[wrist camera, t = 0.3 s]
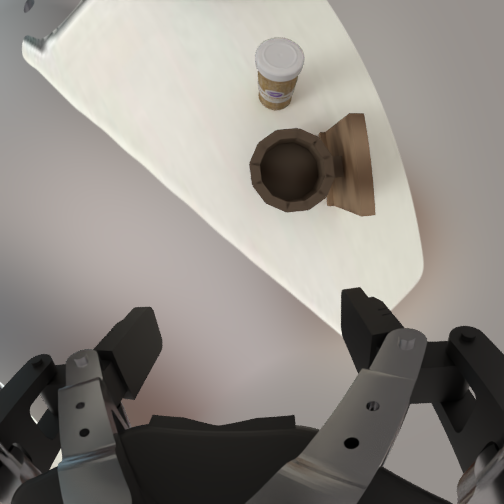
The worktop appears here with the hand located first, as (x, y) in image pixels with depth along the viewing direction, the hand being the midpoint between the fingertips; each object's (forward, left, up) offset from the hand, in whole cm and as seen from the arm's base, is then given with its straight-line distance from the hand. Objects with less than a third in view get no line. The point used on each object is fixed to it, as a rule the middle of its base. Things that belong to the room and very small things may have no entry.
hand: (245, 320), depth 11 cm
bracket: (-6, +6, -27) cm, 29 cm away
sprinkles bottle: (-17, +4, -28) cm, 33 cm away
